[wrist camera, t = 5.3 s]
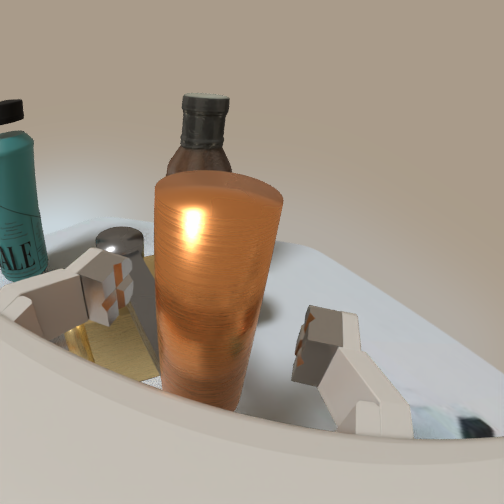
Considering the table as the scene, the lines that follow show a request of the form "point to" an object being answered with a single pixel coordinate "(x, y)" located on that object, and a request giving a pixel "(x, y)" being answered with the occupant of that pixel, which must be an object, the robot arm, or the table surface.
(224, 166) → the sauce bottle
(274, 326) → the table surface
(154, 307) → the crank handle
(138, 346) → the ball valve
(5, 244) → the beverage bottle
